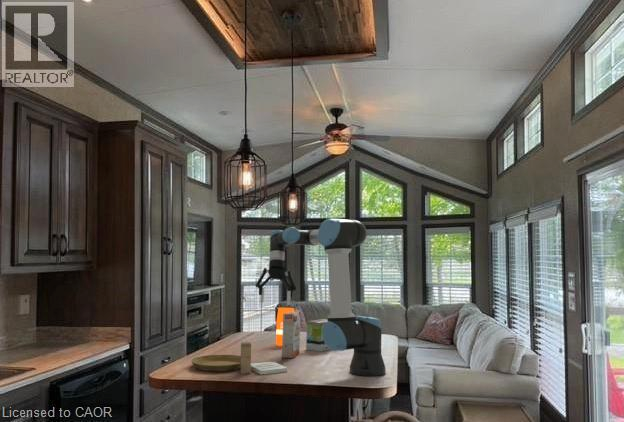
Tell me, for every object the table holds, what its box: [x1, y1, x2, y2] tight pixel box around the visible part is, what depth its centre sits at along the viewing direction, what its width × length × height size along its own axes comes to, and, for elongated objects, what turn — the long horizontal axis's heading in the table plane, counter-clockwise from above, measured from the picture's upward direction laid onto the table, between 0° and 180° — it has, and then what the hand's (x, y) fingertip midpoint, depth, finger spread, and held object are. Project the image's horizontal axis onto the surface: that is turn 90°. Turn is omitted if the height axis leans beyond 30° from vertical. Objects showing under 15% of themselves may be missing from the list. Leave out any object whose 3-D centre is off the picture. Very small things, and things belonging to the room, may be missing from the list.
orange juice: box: [275, 307, 295, 347], centre depth 270 cm, size 8×9×20 cm
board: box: [251, 361, 288, 376], centre depth 209 cm, size 14×12×2 cm
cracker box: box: [281, 310, 301, 359], centre depth 240 cm, size 14×6×21 cm, turn 168°
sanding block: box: [239, 341, 252, 375], centre depth 205 cm, size 6×4×12 cm, turn 10°
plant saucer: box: [191, 354, 241, 373], centre depth 214 cm, size 24×24×3 cm
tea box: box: [305, 318, 331, 352], centre depth 259 cm, size 15×10×15 cm, turn 143°
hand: (275, 303), depth 235 cm, fingers open, 13 cm apart
